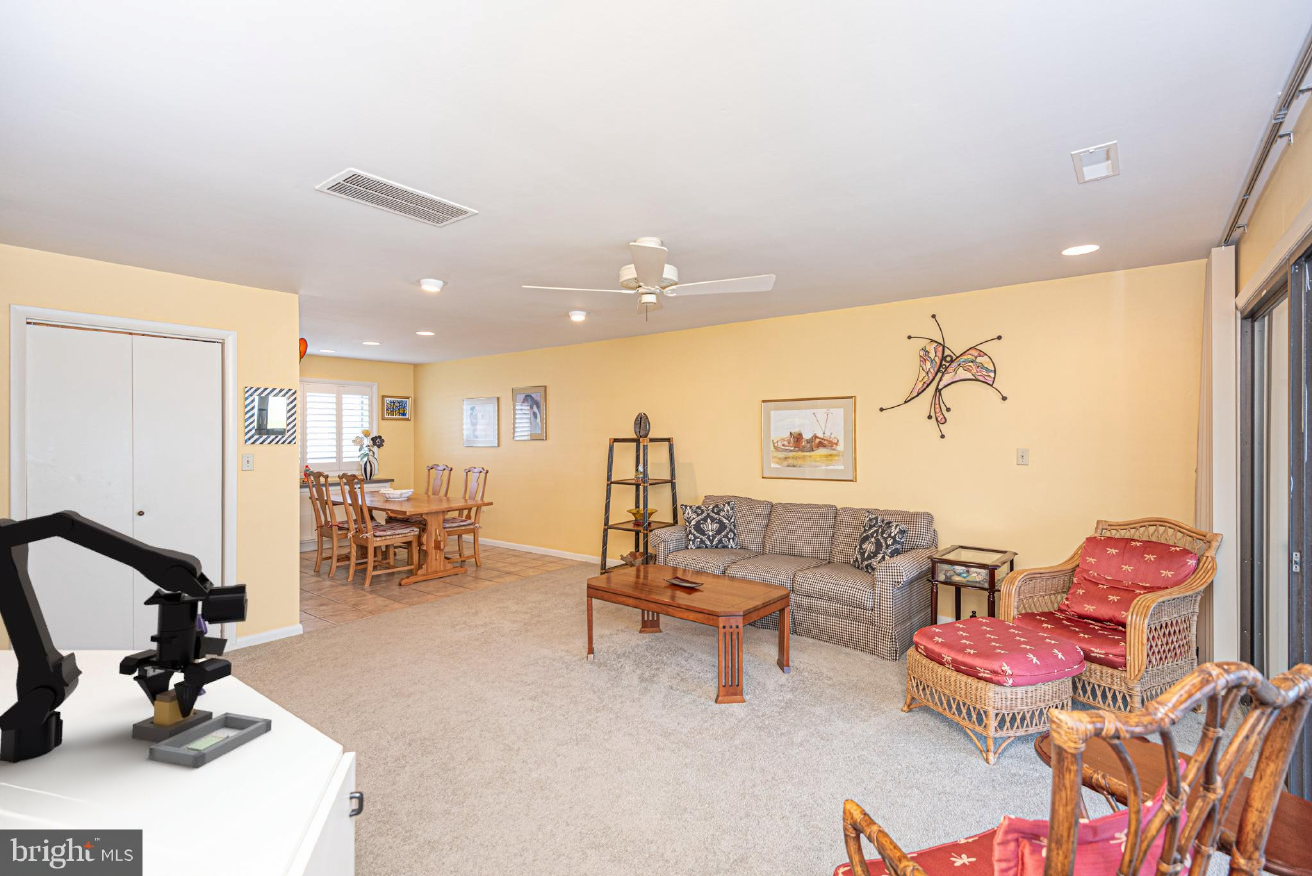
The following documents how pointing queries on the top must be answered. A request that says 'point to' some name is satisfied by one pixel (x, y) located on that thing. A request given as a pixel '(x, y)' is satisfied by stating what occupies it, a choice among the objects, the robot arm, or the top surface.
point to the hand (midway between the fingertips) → (173, 715)
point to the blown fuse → (167, 709)
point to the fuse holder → (168, 727)
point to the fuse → (207, 742)
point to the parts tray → (175, 754)
